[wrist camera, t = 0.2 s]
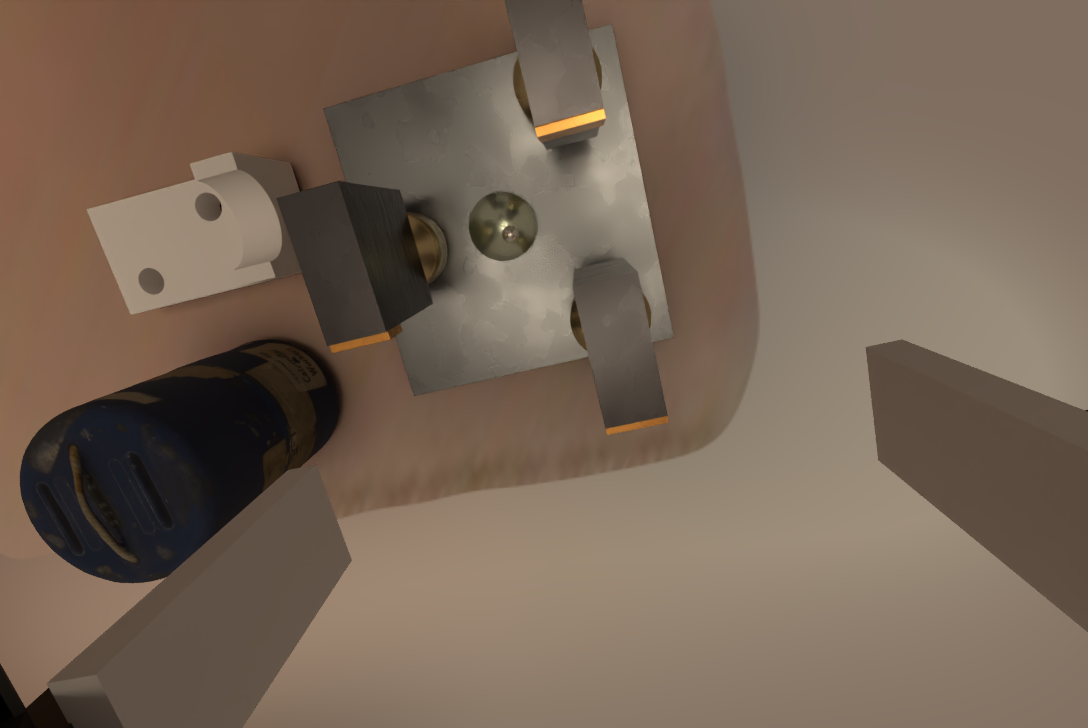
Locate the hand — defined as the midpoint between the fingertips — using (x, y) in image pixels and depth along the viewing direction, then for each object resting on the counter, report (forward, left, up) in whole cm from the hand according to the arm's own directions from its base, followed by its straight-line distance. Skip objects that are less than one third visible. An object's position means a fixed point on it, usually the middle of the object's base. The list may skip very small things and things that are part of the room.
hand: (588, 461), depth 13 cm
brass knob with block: (+1, +2, -26) cm, 26 cm away
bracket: (-10, -23, -28) cm, 38 cm away
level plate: (-6, -4, -27) cm, 28 cm away
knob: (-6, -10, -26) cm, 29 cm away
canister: (+2, -23, -27) cm, 36 cm away
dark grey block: (-13, +2, -26) cm, 29 cm away
